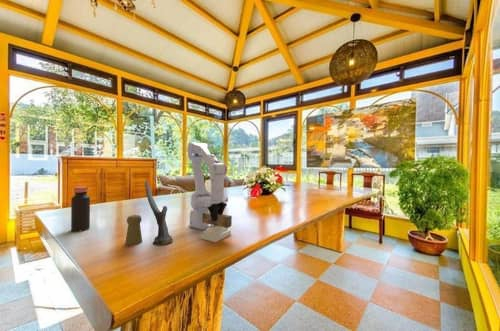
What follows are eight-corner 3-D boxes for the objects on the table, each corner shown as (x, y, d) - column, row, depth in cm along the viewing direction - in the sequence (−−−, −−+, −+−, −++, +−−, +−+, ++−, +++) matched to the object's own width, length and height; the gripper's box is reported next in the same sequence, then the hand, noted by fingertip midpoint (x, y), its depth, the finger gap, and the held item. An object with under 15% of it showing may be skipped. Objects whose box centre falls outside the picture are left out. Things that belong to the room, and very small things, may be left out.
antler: (175, 238, 88) (176, 180, 87) (168, 246, 80) (169, 182, 80) (147, 238, 88) (148, 180, 87) (138, 246, 80) (139, 182, 79)
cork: (124, 246, 79) (124, 218, 79) (125, 240, 85) (126, 214, 84) (142, 243, 82) (142, 216, 82) (142, 238, 87) (142, 213, 87)
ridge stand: (201, 238, 89) (201, 227, 89) (216, 231, 99) (217, 220, 99) (215, 242, 85) (216, 230, 85) (230, 234, 95) (230, 223, 95)
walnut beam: (202, 222, 94) (202, 212, 94) (206, 221, 97) (206, 211, 96) (227, 228, 87) (227, 217, 87) (231, 226, 90) (231, 216, 90)
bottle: (67, 230, 95) (67, 187, 94) (84, 226, 101) (84, 185, 101) (76, 232, 92) (76, 188, 92) (93, 228, 98) (93, 186, 98)
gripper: (214, 192, 83) (213, 225, 84) (233, 188, 96) (233, 217, 96) (200, 191, 87) (200, 222, 87) (221, 187, 99) (220, 215, 100)
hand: (216, 220), depth 92 cm, fingers closed on walnut beam, 3 cm apart
